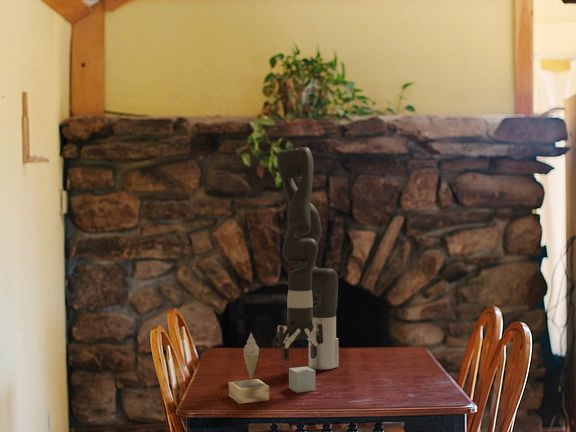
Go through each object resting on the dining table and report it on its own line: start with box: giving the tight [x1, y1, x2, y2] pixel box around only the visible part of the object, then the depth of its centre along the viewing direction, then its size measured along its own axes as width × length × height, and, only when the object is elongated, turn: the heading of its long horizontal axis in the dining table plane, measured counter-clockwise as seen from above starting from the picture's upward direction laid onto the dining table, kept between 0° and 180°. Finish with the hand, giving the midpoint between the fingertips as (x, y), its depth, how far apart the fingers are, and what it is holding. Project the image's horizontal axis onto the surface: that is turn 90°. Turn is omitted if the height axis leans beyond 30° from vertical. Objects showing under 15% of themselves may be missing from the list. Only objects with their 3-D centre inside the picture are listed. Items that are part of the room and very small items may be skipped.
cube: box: [288, 366, 317, 393], centre depth 230 cm, size 6×6×6 cm
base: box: [228, 378, 270, 405], centre depth 220 cm, size 9×9×4 cm
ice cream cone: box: [242, 332, 260, 380], centre depth 242 cm, size 5×5×15 cm
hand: (299, 359), depth 230 cm, fingers open, 8 cm apart
